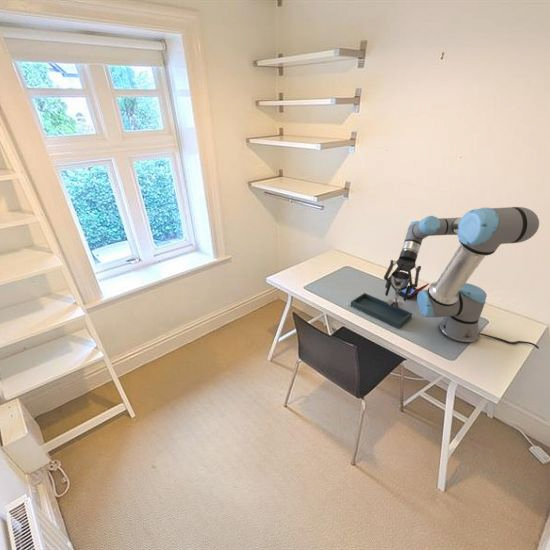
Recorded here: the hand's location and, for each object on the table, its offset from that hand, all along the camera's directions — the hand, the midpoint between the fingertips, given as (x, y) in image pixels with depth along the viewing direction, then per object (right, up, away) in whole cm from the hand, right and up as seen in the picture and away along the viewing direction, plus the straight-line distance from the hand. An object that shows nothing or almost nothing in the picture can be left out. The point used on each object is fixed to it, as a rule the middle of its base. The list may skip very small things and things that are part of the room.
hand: (395, 297), depth 143 cm
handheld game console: (+19, -1, +27) cm, 34 cm away
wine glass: (+2, -3, +5) cm, 6 cm away
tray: (-3, -8, +13) cm, 16 cm away
